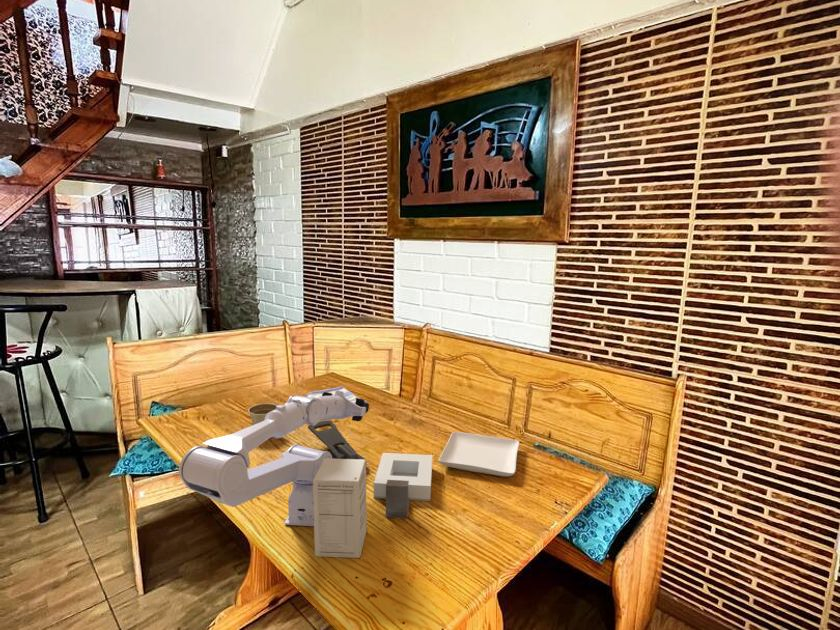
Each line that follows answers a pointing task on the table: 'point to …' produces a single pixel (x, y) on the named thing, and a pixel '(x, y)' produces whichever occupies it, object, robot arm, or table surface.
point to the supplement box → (340, 508)
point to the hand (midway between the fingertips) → (354, 405)
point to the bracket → (397, 499)
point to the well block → (405, 474)
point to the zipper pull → (334, 441)
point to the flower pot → (260, 412)
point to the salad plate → (480, 454)
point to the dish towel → (346, 394)
